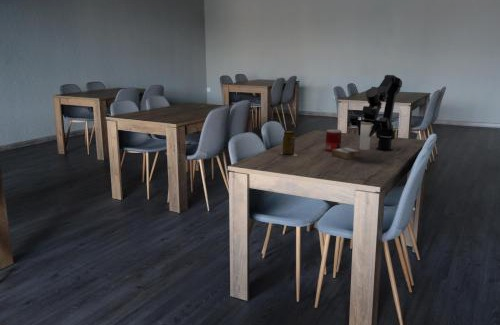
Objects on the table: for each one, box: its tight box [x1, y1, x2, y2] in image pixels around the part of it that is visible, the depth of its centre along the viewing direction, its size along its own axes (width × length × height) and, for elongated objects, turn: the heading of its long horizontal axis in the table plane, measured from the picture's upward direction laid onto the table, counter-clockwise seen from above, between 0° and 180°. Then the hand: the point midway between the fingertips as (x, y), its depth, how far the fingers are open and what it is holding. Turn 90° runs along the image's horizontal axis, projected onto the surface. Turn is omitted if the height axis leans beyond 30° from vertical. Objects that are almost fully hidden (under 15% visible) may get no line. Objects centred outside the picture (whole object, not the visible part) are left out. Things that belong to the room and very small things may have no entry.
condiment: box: [279, 130, 299, 157], centre depth 237 cm, size 7×8×12 cm
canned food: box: [325, 128, 342, 153], centre depth 248 cm, size 8×8×11 cm
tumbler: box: [358, 121, 373, 151], centre depth 222 cm, size 5×5×13 cm
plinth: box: [331, 147, 361, 160], centre depth 236 cm, size 10×10×3 cm
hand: (364, 135), depth 221 cm, fingers closed on tumbler, 5 cm apart
